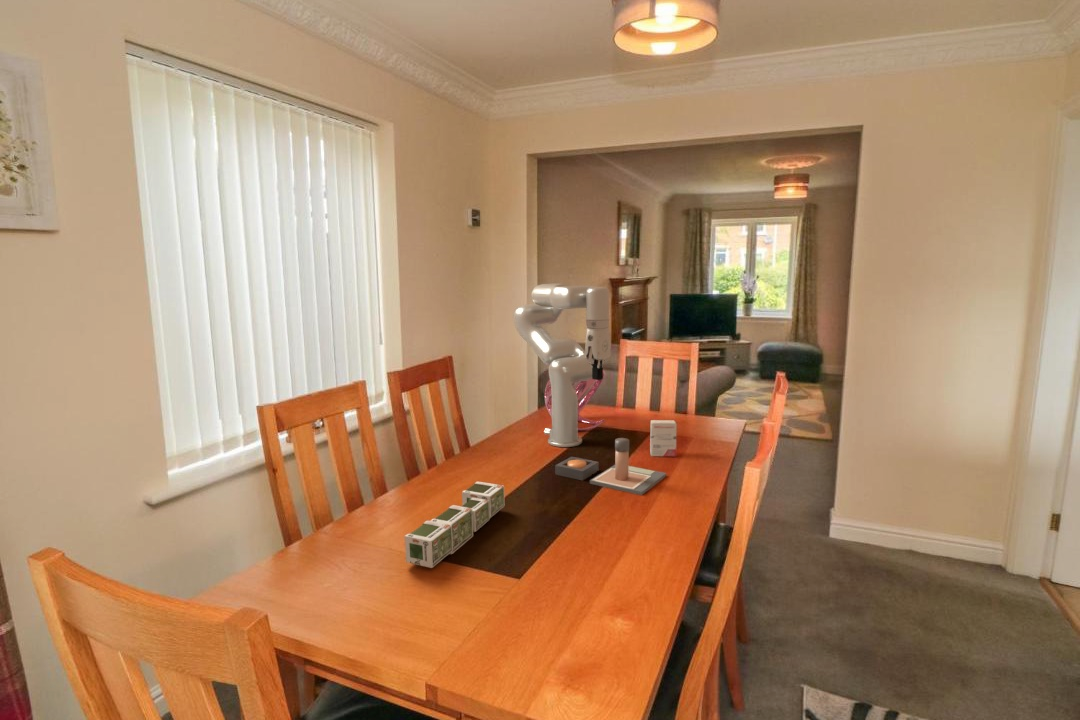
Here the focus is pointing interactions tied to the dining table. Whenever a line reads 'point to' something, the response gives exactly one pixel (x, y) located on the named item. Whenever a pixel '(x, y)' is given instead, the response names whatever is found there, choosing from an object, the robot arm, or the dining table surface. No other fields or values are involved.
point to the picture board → (629, 480)
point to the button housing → (576, 469)
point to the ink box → (663, 438)
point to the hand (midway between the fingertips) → (597, 379)
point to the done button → (577, 463)
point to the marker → (621, 459)
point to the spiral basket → (580, 391)
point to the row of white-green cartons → (454, 525)
